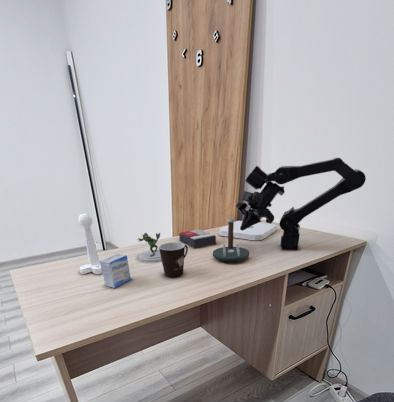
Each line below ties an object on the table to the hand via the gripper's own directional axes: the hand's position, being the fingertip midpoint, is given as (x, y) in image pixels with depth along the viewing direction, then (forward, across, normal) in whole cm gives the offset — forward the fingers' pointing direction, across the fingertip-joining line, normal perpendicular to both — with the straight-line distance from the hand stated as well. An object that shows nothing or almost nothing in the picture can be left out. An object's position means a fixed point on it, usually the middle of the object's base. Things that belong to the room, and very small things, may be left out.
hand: (241, 229), depth 118 cm
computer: (-7, -21, +20) cm, 30 cm away
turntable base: (+12, +5, +1) cm, 13 cm away
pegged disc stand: (+11, +5, 0) cm, 12 cm away
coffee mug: (+29, +8, -16) cm, 34 cm away
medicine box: (+43, +5, -30) cm, 53 cm away
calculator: (+13, -21, 0) cm, 25 cm away
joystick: (+46, -10, -33) cm, 57 cm away
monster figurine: (+30, -13, -17) cm, 36 cm away
